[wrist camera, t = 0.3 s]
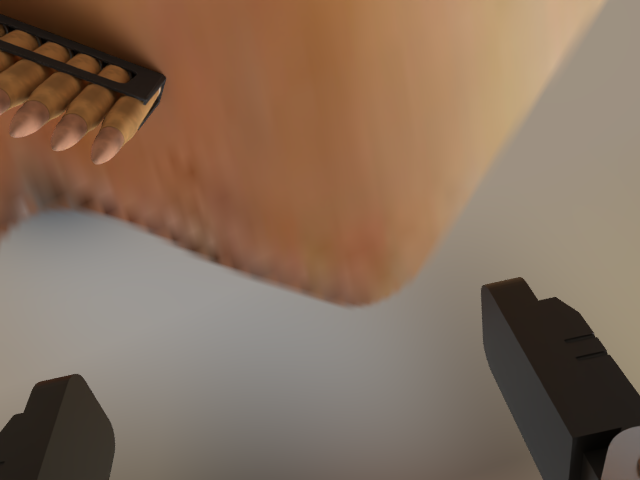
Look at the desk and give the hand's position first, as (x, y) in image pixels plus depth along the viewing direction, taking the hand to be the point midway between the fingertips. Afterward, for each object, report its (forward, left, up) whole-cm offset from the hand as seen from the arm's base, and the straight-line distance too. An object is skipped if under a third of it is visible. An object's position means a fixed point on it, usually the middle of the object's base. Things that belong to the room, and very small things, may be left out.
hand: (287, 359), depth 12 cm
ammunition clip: (0, -12, -28) cm, 30 cm away
